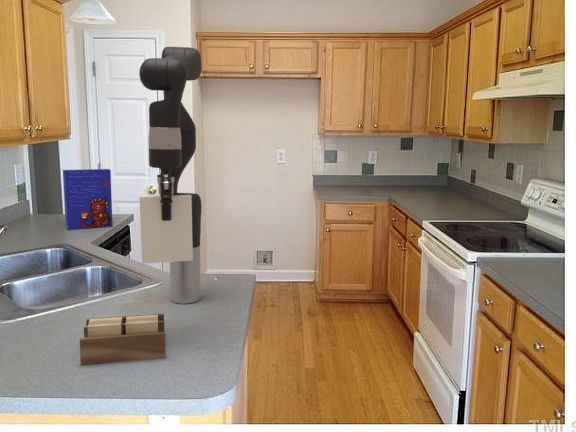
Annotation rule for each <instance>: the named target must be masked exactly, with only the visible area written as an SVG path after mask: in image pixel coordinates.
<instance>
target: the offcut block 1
mask: <svg viewBox="0 0 576 432" xmlns="http://www.w3.org/2000/svg"><path fill="white" fill-rule="evenodd" d="M116 317H117V318H106V317H101V318H102V319H91V318H89V319H90V321H89V324H88V327H87V328H88V338H90V337H103V336H116V335H123V329H122V317H121V316H116Z"/></svg>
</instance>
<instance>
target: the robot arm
mask: <svg viewBox="0 0 576 432" xmlns="http://www.w3.org/2000/svg"><path fill="white" fill-rule="evenodd" d="M138 73H139V80H140V82H141V84H142V86H143V87H144V88H146V90H147V89H148V90H151V91H163V100H162V99H161V100H156V101H153V102H151V103H150V104H149V107H148V125H149V130H148V166H149V167H151V168H153V169H159V170H160V174H157V175H156V181H157V184H158V187H157V188H158V196H160V195H161V200H160V204H161V205H162V220H163V221H170V220H171V205H172V195H191V198H192V242H193V261H176V262H169V290H170V294H169V297H170V301H171V302H172V303H176V304H181V305H182V304H193V303H196V302H199V301H200V300H201V229H202V226H201V225H202V223H201V222H202V208H203V207H202V199H201V196H200V194H198V193H192V192H191V193H190V192H178V187H179V186H178V185H179V181H180V177H181V176H182V175H183V172H184V170H185V168H186V167H187V166H188V164H189V163H190V161H191V159H192V158H193V156H194V155H195V152H196V147H197V128H196V125H195V122H194V121H193V119H192V117H191V115H190V113H189V112H188V110H187V109H186V107H185V106H184V104H183V102H182V99H183V94H184V91H185V87H186V85H187V81H189V82H190V81H196V80H198V79H199V78H200V76H201V73H202V57H201V54H200V52H199V50H198V49H197V48H194V47H188V46H184V47H183V46H165V47H164V48H163V49H162V51H161V57H159V58H158V57H157V58H156V57H153V58H147V59H144V61H142V63H141V65H140V67H139V72H138ZM163 196H169V198H163Z"/></svg>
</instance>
